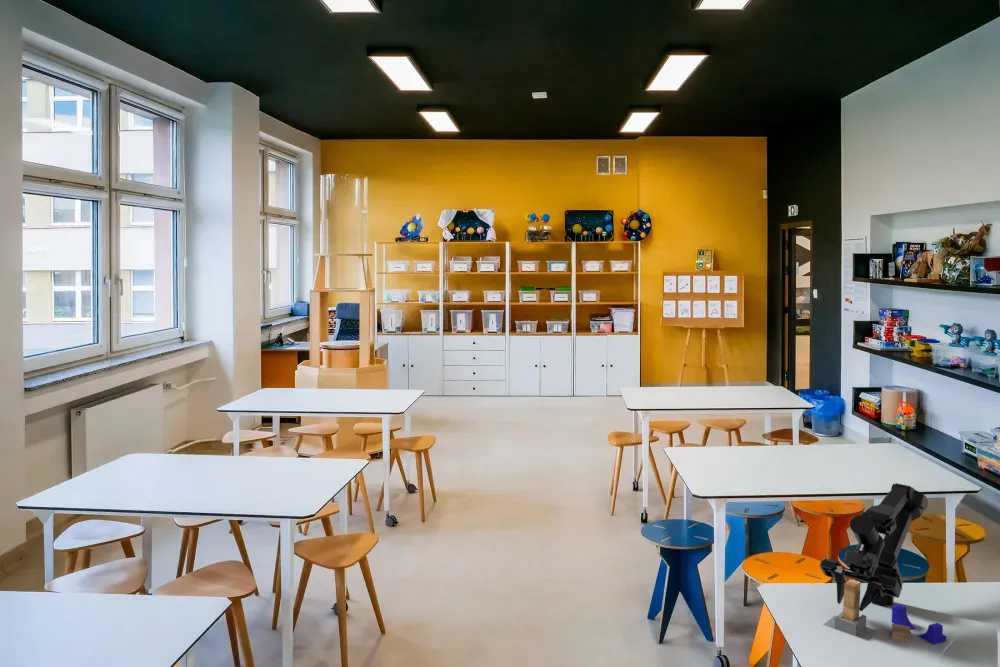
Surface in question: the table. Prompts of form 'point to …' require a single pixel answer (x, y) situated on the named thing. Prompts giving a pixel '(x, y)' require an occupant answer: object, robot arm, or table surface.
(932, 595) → the table surface
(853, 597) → the tall strip
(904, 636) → the upper offcut
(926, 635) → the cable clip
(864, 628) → the rack
